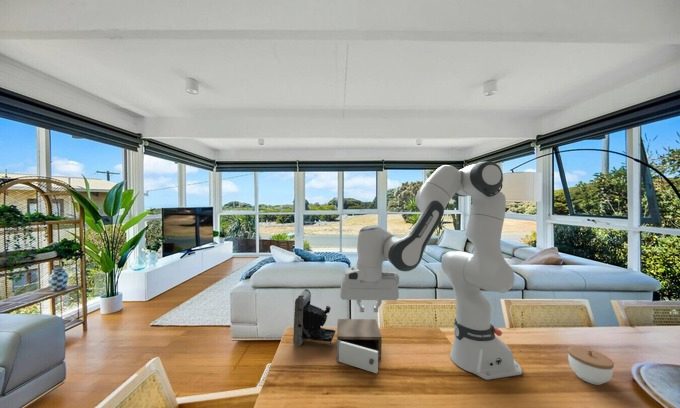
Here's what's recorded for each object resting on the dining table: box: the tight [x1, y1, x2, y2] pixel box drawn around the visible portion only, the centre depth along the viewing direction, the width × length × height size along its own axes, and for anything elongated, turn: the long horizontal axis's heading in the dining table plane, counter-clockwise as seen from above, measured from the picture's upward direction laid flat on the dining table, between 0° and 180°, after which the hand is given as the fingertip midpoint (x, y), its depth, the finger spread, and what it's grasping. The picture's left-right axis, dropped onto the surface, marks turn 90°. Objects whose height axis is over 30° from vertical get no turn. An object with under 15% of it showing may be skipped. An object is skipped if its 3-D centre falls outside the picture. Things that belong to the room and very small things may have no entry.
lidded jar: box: [567, 345, 615, 386], centre depth 82 cm, size 11×11×9 cm
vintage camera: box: [292, 288, 337, 347], centre depth 100 cm, size 10×16×20 cm, turn 79°
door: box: [336, 340, 379, 374], centre depth 85 cm, size 15×2×7 cm, turn 66°
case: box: [336, 318, 382, 361], centre depth 96 cm, size 16×13×8 cm
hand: (368, 311), depth 86 cm, fingers open, 3 cm apart
